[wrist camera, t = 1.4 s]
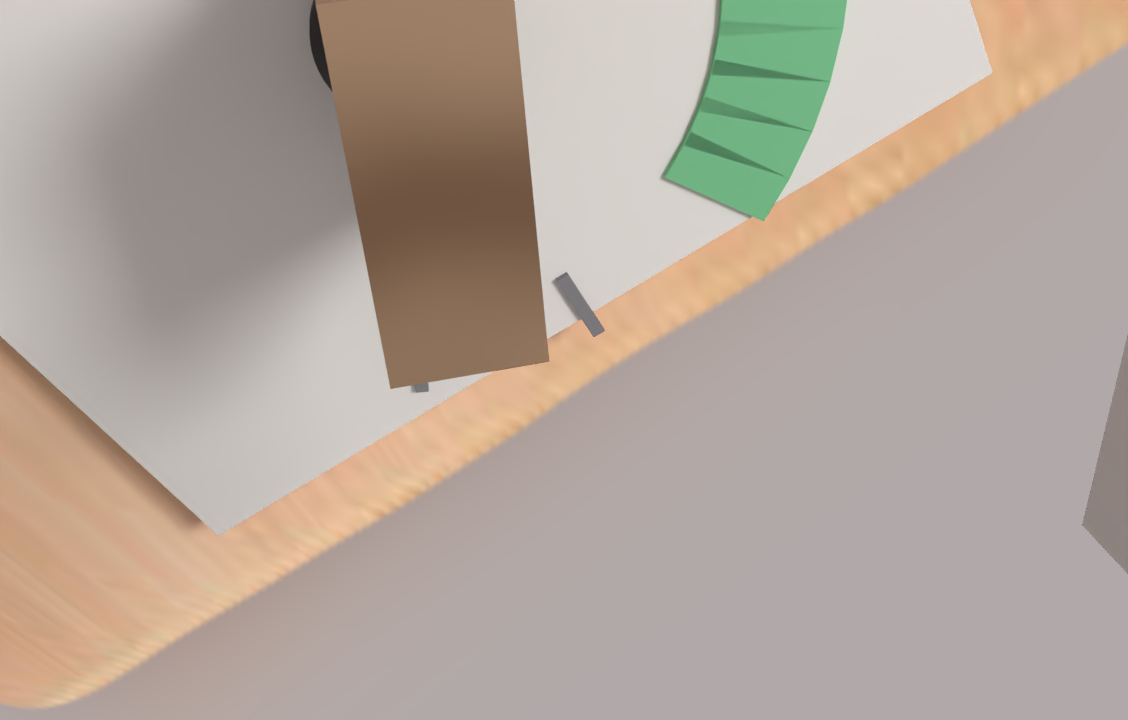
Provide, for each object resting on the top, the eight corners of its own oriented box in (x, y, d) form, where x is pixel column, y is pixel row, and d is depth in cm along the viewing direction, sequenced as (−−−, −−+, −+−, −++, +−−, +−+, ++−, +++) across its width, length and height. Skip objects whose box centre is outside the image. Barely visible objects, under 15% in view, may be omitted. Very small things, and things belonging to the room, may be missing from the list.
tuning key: (280, -108, 25) (268, 10, 16) (467, -128, 26) (556, -27, 17) (377, 373, 33) (406, 641, 23) (521, 349, 33) (603, 601, 24)
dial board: (-374, -53, 25) (-414, -37, 24) (678, -816, 22) (704, -850, 20) (234, 519, 37) (231, 552, 35) (972, 77, 34) (1002, 94, 32)
